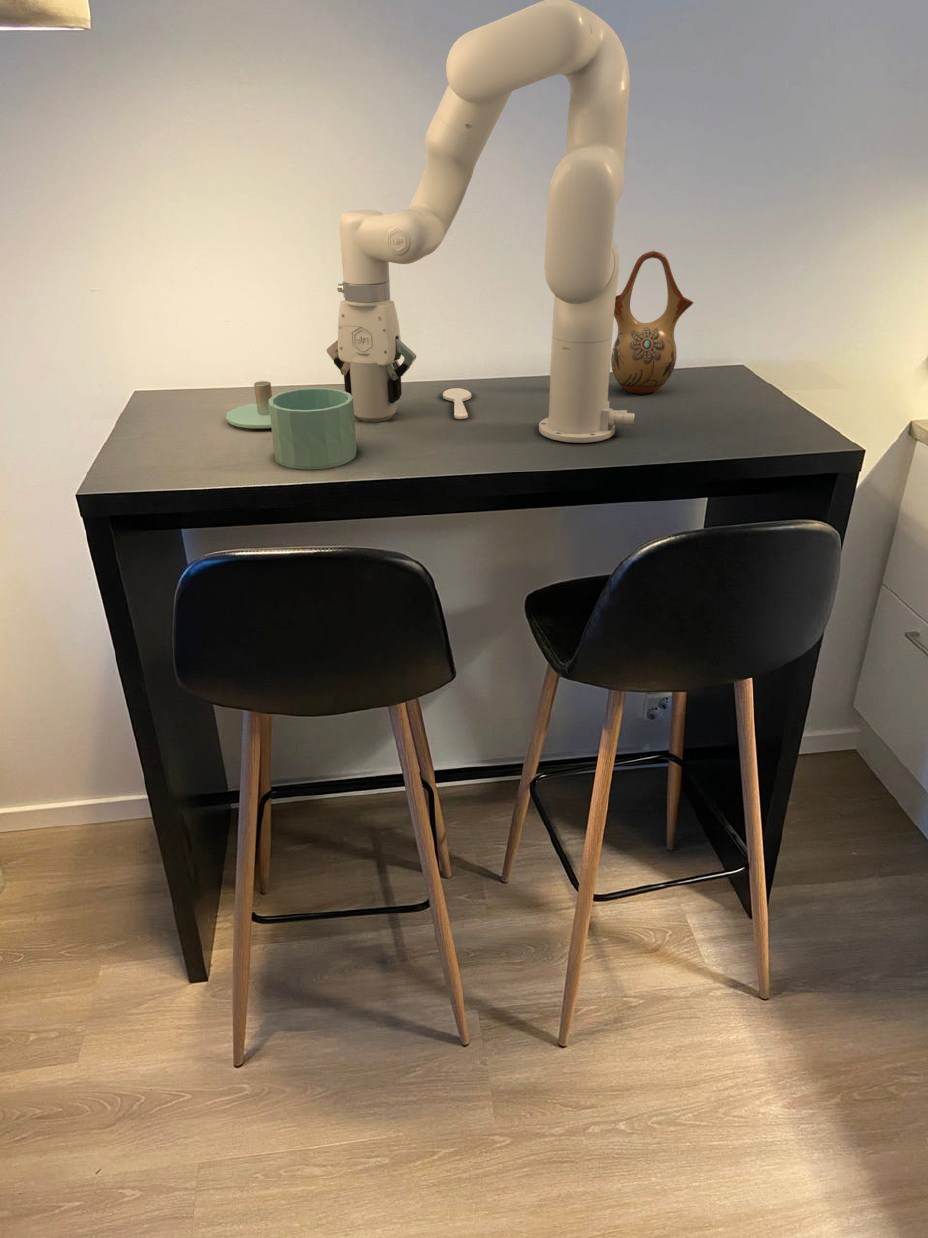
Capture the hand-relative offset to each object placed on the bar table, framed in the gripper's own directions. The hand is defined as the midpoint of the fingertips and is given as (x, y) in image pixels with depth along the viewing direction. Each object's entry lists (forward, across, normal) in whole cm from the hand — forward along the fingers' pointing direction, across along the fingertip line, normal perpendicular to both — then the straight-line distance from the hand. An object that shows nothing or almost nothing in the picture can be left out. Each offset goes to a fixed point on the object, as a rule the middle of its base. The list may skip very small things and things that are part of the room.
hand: (373, 398), depth 159 cm
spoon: (+3, +11, +12) cm, 17 cm away
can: (+3, 0, 0) cm, 3 cm away
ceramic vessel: (+4, +41, +32) cm, 52 cm away
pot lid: (+3, -17, -8) cm, 19 cm away
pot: (+3, 0, -21) cm, 22 cm away
